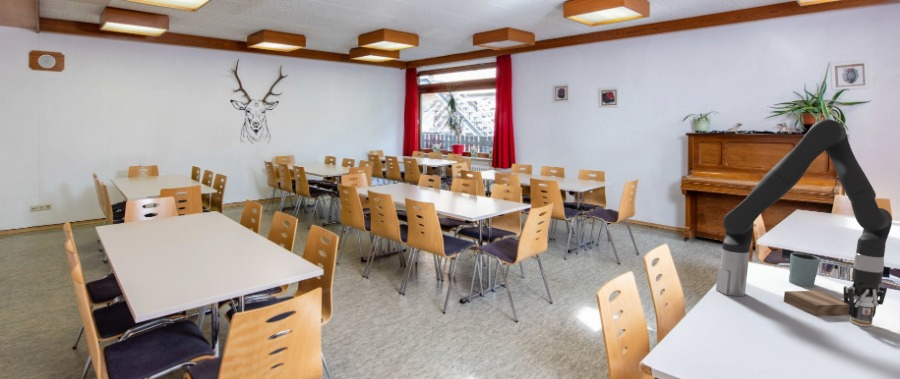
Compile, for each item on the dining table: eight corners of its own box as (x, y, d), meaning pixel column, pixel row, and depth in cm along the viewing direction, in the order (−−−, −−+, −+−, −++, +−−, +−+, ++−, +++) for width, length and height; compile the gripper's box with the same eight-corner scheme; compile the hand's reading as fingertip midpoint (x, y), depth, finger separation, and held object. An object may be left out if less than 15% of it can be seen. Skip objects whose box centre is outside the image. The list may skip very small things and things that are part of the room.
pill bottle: (875, 328, 159) (879, 299, 157) (855, 326, 160) (859, 297, 158) (864, 321, 164) (868, 293, 163) (845, 319, 165) (849, 291, 164)
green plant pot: (790, 278, 210) (793, 251, 208) (818, 283, 203) (822, 256, 201) (784, 283, 203) (788, 255, 201) (814, 289, 196) (818, 260, 194)
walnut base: (815, 316, 168) (816, 305, 167) (783, 301, 181) (784, 291, 181) (851, 315, 169) (853, 304, 169) (817, 300, 183) (818, 290, 182)
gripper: (876, 264, 164) (869, 311, 166) (838, 265, 162) (832, 312, 164) (899, 270, 156) (891, 320, 159) (859, 271, 155) (852, 321, 157)
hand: (861, 316), depth 161 cm, fingers closed on pill bottle, 5 cm apart
